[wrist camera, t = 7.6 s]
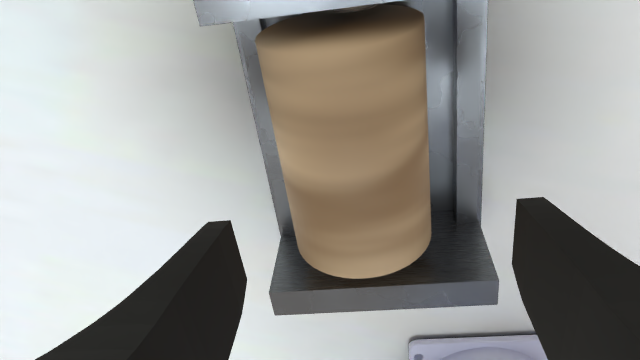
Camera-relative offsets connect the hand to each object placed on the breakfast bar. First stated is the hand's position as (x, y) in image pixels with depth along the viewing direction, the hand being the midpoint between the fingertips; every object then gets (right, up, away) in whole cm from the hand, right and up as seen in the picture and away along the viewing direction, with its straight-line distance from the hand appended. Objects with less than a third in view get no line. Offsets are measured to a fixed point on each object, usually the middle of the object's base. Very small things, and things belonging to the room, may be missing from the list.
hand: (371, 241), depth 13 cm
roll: (0, +4, +7) cm, 8 cm away
